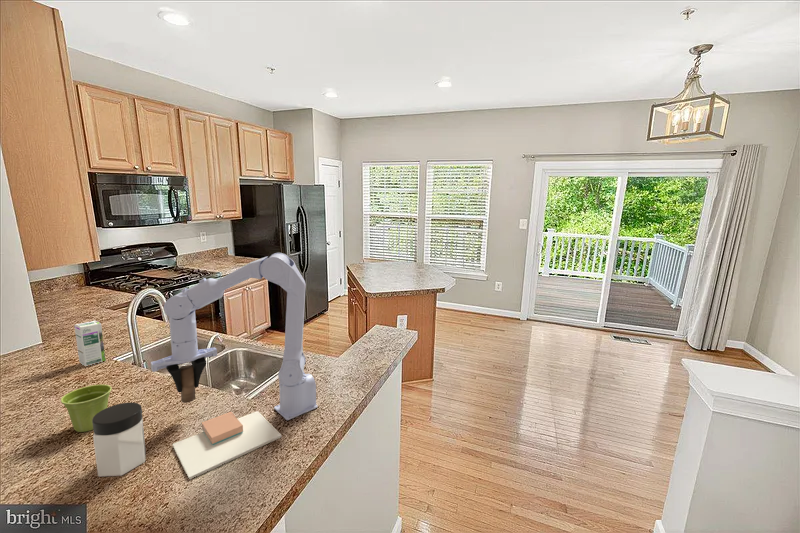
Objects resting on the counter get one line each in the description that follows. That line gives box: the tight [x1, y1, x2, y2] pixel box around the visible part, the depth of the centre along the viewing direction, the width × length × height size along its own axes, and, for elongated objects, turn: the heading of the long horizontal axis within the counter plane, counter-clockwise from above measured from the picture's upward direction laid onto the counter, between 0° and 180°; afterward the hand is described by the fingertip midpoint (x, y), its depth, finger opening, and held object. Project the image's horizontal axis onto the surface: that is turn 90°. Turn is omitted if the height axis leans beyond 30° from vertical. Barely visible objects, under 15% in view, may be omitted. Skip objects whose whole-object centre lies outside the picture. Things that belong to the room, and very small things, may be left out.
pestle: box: [179, 364, 197, 404], centre depth 90 cm, size 3×3×9 cm
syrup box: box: [74, 320, 107, 367], centre depth 120 cm, size 6×6×14 cm
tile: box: [201, 411, 243, 445], centre depth 85 cm, size 7×2×8 cm
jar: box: [92, 402, 147, 478], centre depth 73 cm, size 9×8×12 cm
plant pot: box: [60, 384, 113, 433], centre depth 86 cm, size 9×9×9 cm
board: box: [172, 410, 282, 480], centre depth 82 cm, size 20×14×1 cm
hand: (187, 388), depth 90 cm, fingers closed on pestle, 3 cm apart
